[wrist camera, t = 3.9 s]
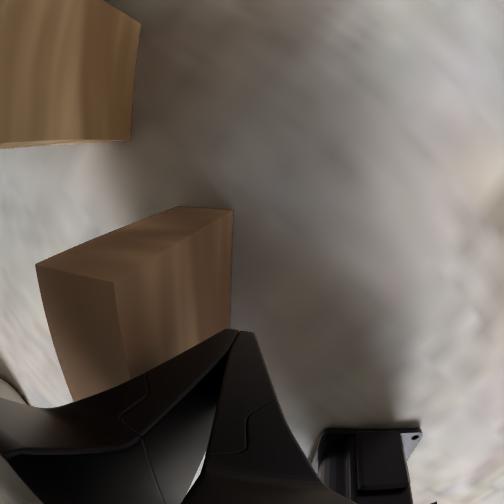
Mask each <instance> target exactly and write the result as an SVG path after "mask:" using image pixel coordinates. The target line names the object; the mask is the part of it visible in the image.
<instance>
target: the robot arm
mask: <svg viewBox="0 0 504 504" xmlns="http://www.w3.org/2000/svg"><path fill="white" fill-rule="evenodd" d="M277 400H278V399H277V396H276V394H275V391H274V388H273V385H272V382H271V379H270V376H269V374H268V371H267V368H266V365H265V362H264V359H263V356H262V353H261V351H260V348H259V345H258V342H257V339H256V336H255V333H254V332H248V331H239V330H235V329H228V328H226V329H224V330H222V331H220V332H218V333H217V334H215V335H213V336H211V337H210V338H208V339H206V340H204V341H202V342H201V343H199V344H197V345H195V346H193V347H191V348H190V349H188V350H186V351H184V352H182V353H180V354H179V355H177V356H175V357H173V358H171V359H169V360H167V361H166V362H164V363H162V364H160V365H158V366H156V367H154V368H152V369H150V370H148V371H147V372H145V374H144V373H142V374H141V375H139V376H137V377H135V378H133V379H131V380H129V381H126V382H124V383H122V384H120V385H118V386H115V387H113V388H110V389H108V390H105V391H103V392H100V393H98V394H95V395H92V396H89V397H87V398H84V399H81V400H78V401H75V402H72V403H69V404H66V405H63V406H60V407H55V408H37V407H33V406H29V405H25V404H21V403H18V402H14V401H11V400H7V399H4V398H1V397H0V504H413V499H412V493H411V487H410V478H409V472H408V467H407V462H406V461H407V460H408V458H409V457H410V455H411V454H412V452H413V451H414V449H415V448H416V446H417V444H418V443H419V441H420V440H421V438H422V436H423V434H422V431H421V429H420V428H406V429H340V428H327V429H325V430H323V431H322V432H321V435H320V438H319V441H318V444H317V447H316V450H315V453H314V456H313V459H312V462H311V464H310V462H309V461H308V459H307V457H306V456H305V454H304V452H303V451H302V449H301V447H300V446H299V444H298V442H297V441H296V439H295V437H294V435H293V434H292V432H291V430H290V428H289V426H288V424H287V422H286V420H285V417H284V415H283V412H282V410H281V407H280V404H279V402H278V401H277ZM205 452H206V455H205V459H204V464H203V467H202V470H201V473H200V475H199V477H198V478H197V480H196V481H195V483H194V484H193V486H192V487H191V489H190V490H189V492H188V493H187V491H188V489H189V487H190V485H191V483H192V481H193V478H194V476H195V474H196V472H197V470H198V467H199V465H200V463H201V461H202V459H203V456H204V454H205ZM186 494H187V495H186ZM431 504H437V501H436V502H434V503H431Z"/></svg>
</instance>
